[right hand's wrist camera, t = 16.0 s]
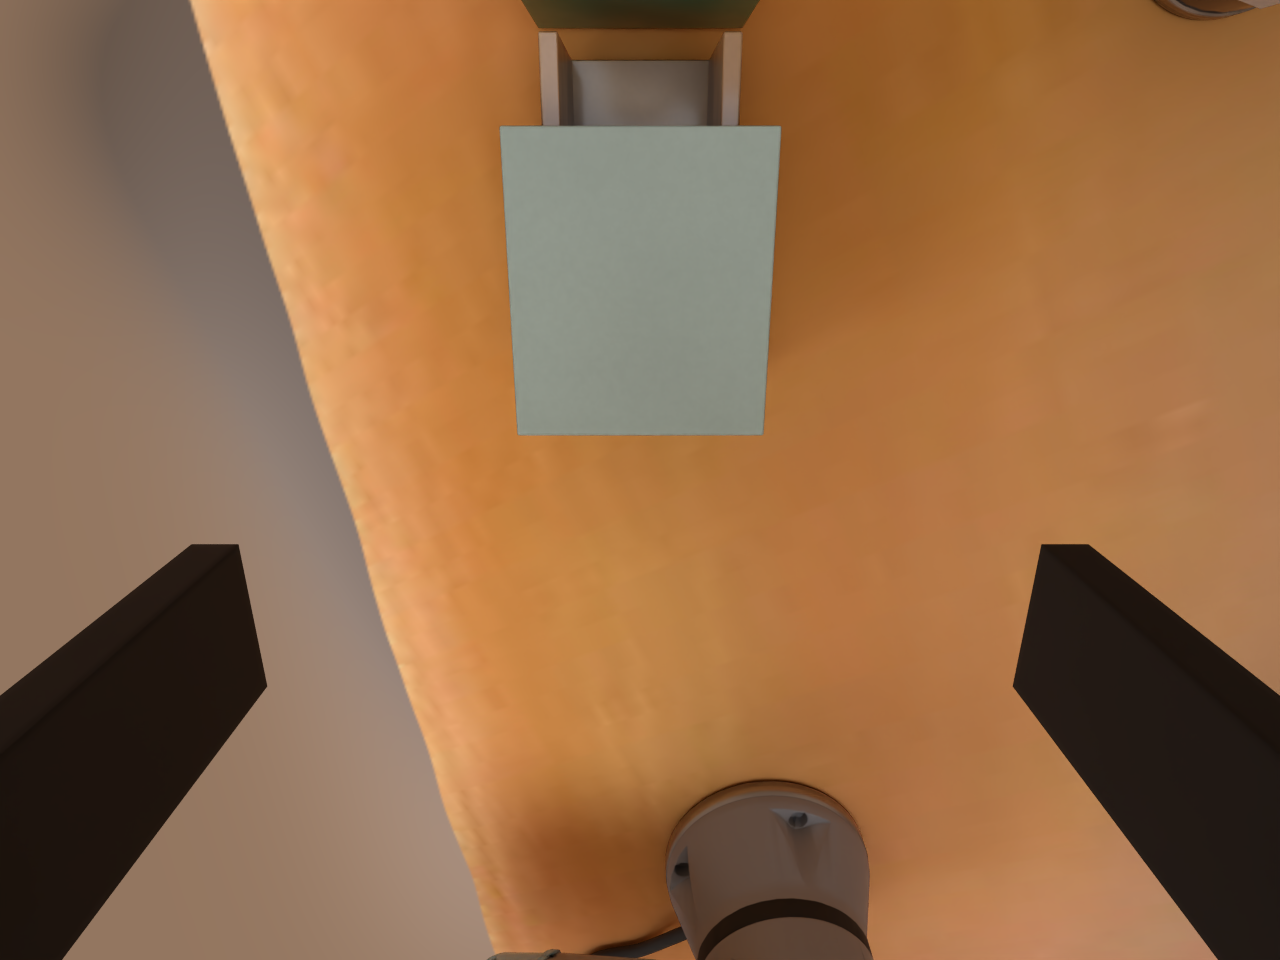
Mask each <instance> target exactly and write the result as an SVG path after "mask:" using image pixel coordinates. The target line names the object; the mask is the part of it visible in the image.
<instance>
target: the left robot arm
mask: <svg viewBox="0 0 1280 960" xmlns="http://www.w3.org/2000/svg"><path fill="white" fill-rule="evenodd" d="M1155 1H1156V2H1157V3H1158V4H1159V5H1160V6H1162V7H1163V8H1165V9H1166V10H1168V11H1169V12H1171V13H1173V14H1175V15H1178V16H1181V17H1184V18H1188V19H1194V20H1214V19H1220V18H1225V17H1229V16H1232V15H1236V14H1239V13H1242V12H1245V11H1248V10H1251V9H1253V8H1256V7H1257V8H1259V9H1262V8H1265V7H1269V6H1272V5H1276V4H1279V3H1280V0H1155Z"/></svg>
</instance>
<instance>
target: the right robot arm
mask: <svg viewBox="0 0 1280 960" xmlns="http://www.w3.org/2000/svg"><path fill="white" fill-rule="evenodd" d="M266 687H267V683H266V678H265V673H264V668H263V663H262V658H261V653H260V648H259V643H258V638H257V634H256V629H255V624H254V619H253V614H252V609H251V604H250V599H249V594H248V589H247V584H246V579H245V574H244V569H243V565H242V560H241V555H240V550H239V545H238V544H192V545H190V546H189V547H188V548H186V549H185V550H184V551H183V552H181V553H180V554H179V555H178V556H176V557H175V558H174V559H173V560H171V561H170V562H169V563H167V564H166V565H165V566H164V567H162V568H161V569H160V570H159V571H157V572H156V573H155V574H153V575H152V576H151V577H150V578H148V579H147V580H146V581H145V582H143V583H142V584H141V585H140V586H138V587H137V588H136V589H135V590H133V591H132V592H131V593H129V594H128V595H127V596H126V597H124V598H123V599H122V600H121V601H119V602H118V603H117V604H116V605H114V606H113V607H112V608H110V609H109V610H108V611H107V612H105V613H104V614H103V615H102V616H100V617H99V618H98V619H97V620H95V621H94V622H93V623H92V624H90V625H89V626H88V627H86V628H85V629H84V630H83V631H81V632H80V633H79V634H78V635H76V636H75V637H74V638H73V639H71V640H70V641H69V642H68V643H66V644H65V645H64V646H62V647H61V648H60V649H59V650H57V651H56V652H55V653H54V654H52V655H51V656H50V657H49V658H47V659H46V660H45V661H43V662H42V663H41V664H40V665H38V666H37V667H36V668H35V669H33V670H32V671H31V672H30V673H28V674H27V675H26V676H24V677H23V678H22V679H21V680H19V681H18V682H17V683H16V684H14V685H13V686H12V687H11V688H9V689H8V690H7V691H6V692H4V693H3V694H2V695H0V960H62V959H63V958H64V956H65V955H66V954H67V952H68V951H69V950H70V948H71V947H72V946H73V944H74V943H75V942H76V940H77V939H78V938H79V936H80V935H81V934H82V932H83V931H84V930H85V928H86V927H87V926H88V924H89V923H90V922H91V920H92V919H93V918H94V916H95V915H96V914H97V912H98V911H99V910H100V908H101V907H102V906H103V904H104V903H105V902H106V900H107V899H108V898H109V896H110V895H111V894H112V892H113V891H114V890H115V888H116V887H117V886H118V884H119V883H120V882H121V880H122V879H123V878H124V876H125V875H126V874H127V872H128V871H129V870H130V868H131V867H132V866H133V864H134V863H135V862H136V860H137V859H138V858H139V856H140V855H141V854H142V852H143V851H144V850H145V848H146V847H147V846H148V844H149V843H150V842H151V840H152V839H153V838H154V836H155V835H156V834H157V832H158V831H159V830H160V828H161V827H162V826H163V824H164V823H165V822H166V820H167V819H168V818H169V816H170V815H171V814H172V812H173V811H174V810H175V808H176V807H177V806H178V804H179V803H180V802H181V800H182V799H183V798H184V796H185V795H186V794H187V792H188V791H189V790H190V789H191V787H192V786H193V784H194V783H195V782H196V781H197V779H198V778H199V776H200V775H201V774H202V773H203V771H204V770H205V769H206V767H207V766H208V765H209V763H210V762H211V761H212V759H213V758H214V757H215V755H216V754H217V752H218V751H219V750H220V749H221V747H222V746H223V745H224V743H225V742H226V741H227V739H228V738H229V737H230V735H231V734H232V732H233V731H234V730H235V729H236V727H237V726H238V725H239V723H240V722H241V721H242V719H243V718H244V717H245V715H246V714H247V713H248V711H249V710H250V709H251V707H252V706H253V705H254V703H255V702H256V701H257V699H258V698H259V697H260V695H261V694H262V693H263V691H264V690H265V689H266ZM1013 687H1014V689H1015V690H1016V691H1017V693H1018V694H1019V695H1020V697H1021V698H1022V699H1023V701H1024V702H1025V703H1026V705H1027V706H1028V707H1029V709H1030V710H1031V711H1032V713H1033V714H1034V715H1035V717H1036V718H1037V719H1038V721H1039V722H1040V723H1041V725H1042V726H1043V727H1044V729H1045V730H1046V731H1047V733H1048V734H1049V735H1050V737H1051V738H1052V739H1053V741H1054V742H1055V743H1056V745H1057V746H1058V747H1059V749H1060V750H1061V751H1062V753H1063V754H1064V755H1065V757H1066V758H1067V759H1068V761H1069V762H1070V763H1071V765H1072V766H1073V767H1074V769H1075V770H1076V771H1077V773H1078V774H1079V775H1080V777H1081V778H1082V779H1083V781H1084V782H1085V783H1086V785H1087V786H1088V787H1089V789H1090V790H1091V791H1092V793H1093V794H1094V795H1095V797H1096V798H1097V799H1098V801H1099V802H1100V803H1101V804H1102V806H1103V807H1104V808H1105V810H1106V811H1107V812H1108V814H1109V815H1110V816H1111V818H1112V819H1113V820H1114V822H1115V823H1116V824H1117V826H1118V827H1119V828H1120V830H1121V831H1122V832H1123V834H1124V835H1125V836H1126V838H1127V839H1128V840H1129V842H1130V843H1131V844H1132V846H1133V847H1134V848H1135V850H1136V851H1137V852H1138V854H1139V855H1140V856H1141V858H1142V859H1143V860H1144V862H1145V863H1146V864H1147V866H1148V867H1149V868H1150V870H1151V871H1152V872H1153V874H1154V875H1155V876H1156V878H1157V879H1158V880H1159V882H1160V883H1161V884H1162V886H1163V887H1164V888H1165V890H1166V891H1167V892H1168V894H1169V895H1170V896H1171V898H1172V899H1173V900H1174V902H1175V903H1176V904H1177V906H1178V907H1179V908H1180V910H1181V911H1182V912H1183V914H1184V915H1185V916H1186V918H1187V919H1188V920H1189V922H1190V923H1191V924H1192V926H1193V927H1194V928H1195V930H1196V931H1197V932H1198V934H1199V935H1200V936H1201V938H1202V939H1203V940H1204V942H1205V943H1206V944H1207V946H1208V947H1209V948H1210V950H1211V951H1212V952H1213V954H1214V955H1215V956H1216V958H1217V959H1218V960H1280V695H1278V694H1277V693H1276V692H1274V691H1273V690H1272V689H1271V688H1269V687H1268V686H1267V685H1266V684H1264V683H1263V682H1262V681H1261V680H1259V679H1258V678H1257V677H1256V676H1254V675H1253V674H1252V673H1250V672H1249V671H1248V670H1247V669H1245V668H1244V667H1243V666H1242V665H1240V664H1239V663H1238V662H1237V661H1235V660H1234V659H1233V658H1231V657H1230V656H1229V655H1228V654H1226V653H1225V652H1224V651H1223V650H1221V649H1220V648H1219V647H1218V646H1216V645H1215V644H1214V643H1213V642H1211V641H1210V640H1209V639H1207V638H1206V637H1205V636H1204V635H1202V634H1201V633H1200V632H1199V631H1197V630H1196V629H1195V628H1194V627H1192V626H1191V625H1190V624H1188V623H1187V622H1186V621H1185V620H1183V619H1182V618H1181V617H1180V616H1178V615H1177V614H1176V613H1175V612H1173V611H1172V610H1171V609H1170V608H1168V607H1167V606H1166V605H1164V604H1163V603H1162V602H1161V601H1159V600H1158V599H1157V598H1156V597H1154V596H1153V595H1152V594H1151V593H1149V592H1148V591H1147V590H1145V589H1144V588H1143V587H1142V586H1140V585H1139V584H1138V583H1137V582H1135V581H1134V580H1133V579H1132V578H1130V577H1129V576H1128V575H1127V574H1125V573H1124V572H1123V571H1121V570H1120V569H1119V568H1118V567H1116V566H1115V565H1114V564H1113V563H1111V562H1110V561H1109V560H1108V559H1106V558H1105V557H1104V556H1102V555H1101V554H1100V553H1099V552H1097V551H1096V550H1095V549H1094V548H1092V547H1091V546H1090V545H1089V544H1042V545H1041V550H1040V555H1039V560H1038V565H1037V569H1036V574H1035V579H1034V584H1033V589H1032V594H1031V599H1030V604H1029V609H1028V614H1027V619H1026V624H1025V629H1024V633H1023V638H1022V643H1021V648H1020V653H1019V658H1018V663H1017V668H1016V673H1015V678H1014V683H1013ZM869 879H870V873H869V864H868V856H867V852H866V848H865V845H864V842H863V839H862V837H861V834H860V831H859V829H858V827H857V825H856V823H855V821H854V820H853V818H852V817H851V815H850V814H849V813H848V812H847V811H846V810H845V809H844V808H843V807H842V806H841V805H840V804H839V803H838V802H836V801H835V800H833V799H832V798H830V797H829V796H827V795H825V794H824V793H821V792H819V791H817V790H815V789H812V788H809V787H806V786H803V785H799V784H794V783H788V782H779V781H762V782H752V783H746V784H741V785H737V786H734V787H730V788H727V789H725V790H722V791H720V792H717V793H715V794H713V795H711V796H709V797H708V798H706V799H704V800H703V801H701V802H700V803H698V804H697V805H696V806H694V807H693V808H692V809H691V810H690V811H689V812H688V813H687V814H686V815H685V816H684V817H683V818H682V819H681V821H680V822H679V823H678V825H677V826H676V828H675V829H674V831H673V833H672V835H671V838H670V840H669V843H668V846H667V851H666V880H667V887H668V892H669V895H670V900H671V903H672V906H673V908H674V910H675V913H676V915H677V917H678V920H679V922H680V924H681V927H678V928H676V929H674V930H671V931H669V932H666V933H664V934H662V935H659V936H657V937H654V938H652V939H649V940H647V941H644V942H641V943H638V944H634V945H629V946H623V947H616V948H610V949H605V950H601V951H598V952H595V953H593V954H591V955H584V954H571V953H561V952H560V950H558V949H550V950H547V951H545V952H544V953H499V954H496V955H494V956H492V957H490V958H489V959H487V960H654V959H640V958H639V957H643V956H646V955H649V954H651V953H654V952H657V951H659V950H662V949H664V948H667V947H669V946H672V945H674V944H677V943H679V942H682V941H684V940H686V939H687V941H688V943H689V945H690V948H691V950H692V952H693V955H694V957H695V959H696V960H873V957H872V953H871V950H870V947H869V943H868V940H867V922H868V900H869Z"/></svg>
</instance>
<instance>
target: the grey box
mask: <svg viewBox="0 0 1280 960" xmlns="http://www.w3.org/2000/svg"><path fill="white" fill-rule="evenodd" d="M500 144H501V161H502V178H503V195H504V212H505V229H506V246H507V263H508V280H509V297H510V314H511V332H512V349H513V366H514V383H515V400H516V417H517V434H518V435H763V434H764V417H765V400H766V383H767V365H768V348H769V331H770V314H771V297H772V280H773V263H774V246H775V229H776V212H777V195H778V178H779V161H780V144H781V126H500Z"/></svg>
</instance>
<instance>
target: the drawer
mask: <svg viewBox="0 0 1280 960" xmlns="http://www.w3.org/2000/svg"><path fill="white" fill-rule="evenodd" d="M522 2H523V4H524V5H525V7H526V9H527V10H528V12H529V13H530V15H531V17H532V18H533V20H534V21H535V23H536V25H537V26H538V28H742V27H743V26H744V24H745V23H746V21H747V19H748V18H749V16H750V15H751V13H752V11H753V10H754V8H755V7H756V5H757V3H758V2H759V0H522ZM742 41H743V33H742V32H724V33H723V35H722V37H721V39H720V41H719V43H718V45H717V46H716V48H715V50H714V52H713V54H712V56H711V58H710V60H571V58H570V56H569V54H568V52H567V50H566V48H565V46H564V44H563V42H562V41H561V39H560V37H559V35H558V33H557V32H556V31H540V32H538V43H539V68H540V92H541V117H542V126H739V114H740V90H741V65H742Z"/></svg>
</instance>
